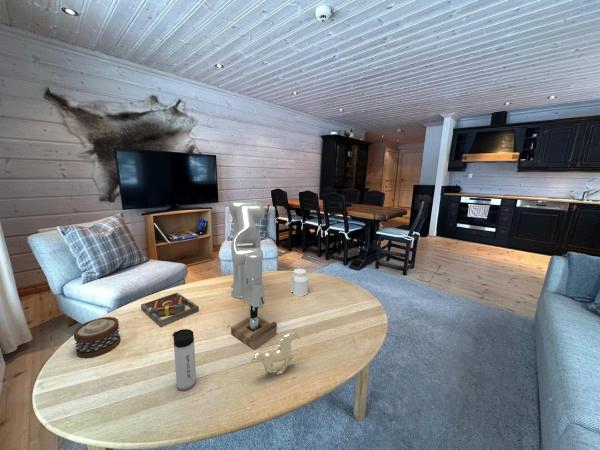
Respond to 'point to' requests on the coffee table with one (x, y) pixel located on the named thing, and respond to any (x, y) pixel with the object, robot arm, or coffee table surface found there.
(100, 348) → the brown drum
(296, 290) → the jar
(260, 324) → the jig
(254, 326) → the blue-grey domed cylinder
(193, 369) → the travel mug
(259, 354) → the unicorn
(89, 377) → the coffee table surface
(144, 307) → the book frame
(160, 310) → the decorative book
